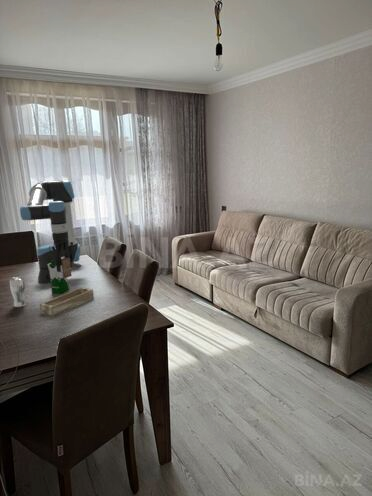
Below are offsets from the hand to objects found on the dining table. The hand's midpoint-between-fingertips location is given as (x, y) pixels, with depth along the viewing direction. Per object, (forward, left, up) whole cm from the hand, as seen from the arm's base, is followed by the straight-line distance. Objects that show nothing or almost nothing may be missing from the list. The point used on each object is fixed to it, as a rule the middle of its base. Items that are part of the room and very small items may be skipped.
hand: (65, 275), depth 180 cm
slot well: (0, 0, -16) cm, 16 cm away
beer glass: (-25, -11, -17) cm, 32 cm away
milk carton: (-21, +13, -17) cm, 30 cm away
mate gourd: (-60, +58, -17) cm, 85 cm away
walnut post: (0, 0, 0) cm, 0 cm away
